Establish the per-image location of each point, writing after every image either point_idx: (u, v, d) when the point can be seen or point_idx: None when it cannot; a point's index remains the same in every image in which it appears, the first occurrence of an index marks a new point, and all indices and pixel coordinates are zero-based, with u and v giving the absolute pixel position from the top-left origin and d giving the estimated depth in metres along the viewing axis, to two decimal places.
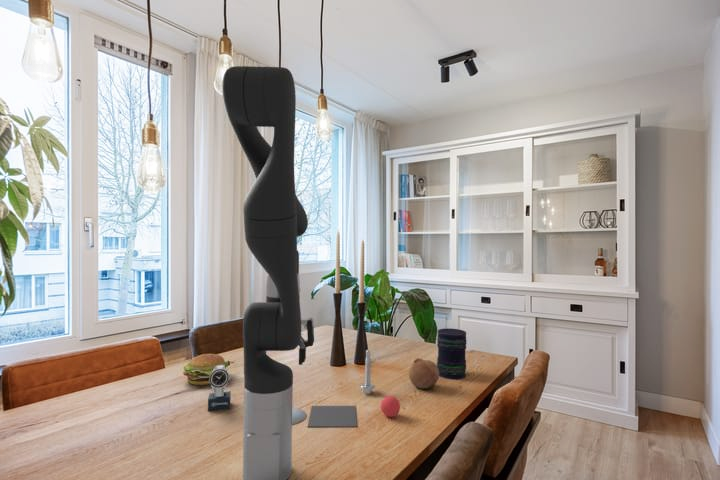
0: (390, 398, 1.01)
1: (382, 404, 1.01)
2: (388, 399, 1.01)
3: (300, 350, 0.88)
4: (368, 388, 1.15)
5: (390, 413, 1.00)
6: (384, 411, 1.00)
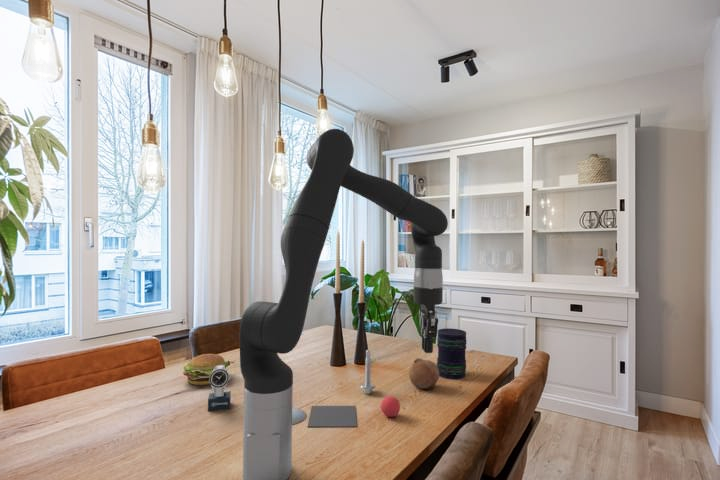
0: (390, 398, 1.01)
1: (382, 404, 1.01)
2: (388, 399, 1.01)
3: (424, 339, 1.01)
4: (368, 388, 1.15)
5: (390, 413, 1.00)
6: (384, 411, 1.00)
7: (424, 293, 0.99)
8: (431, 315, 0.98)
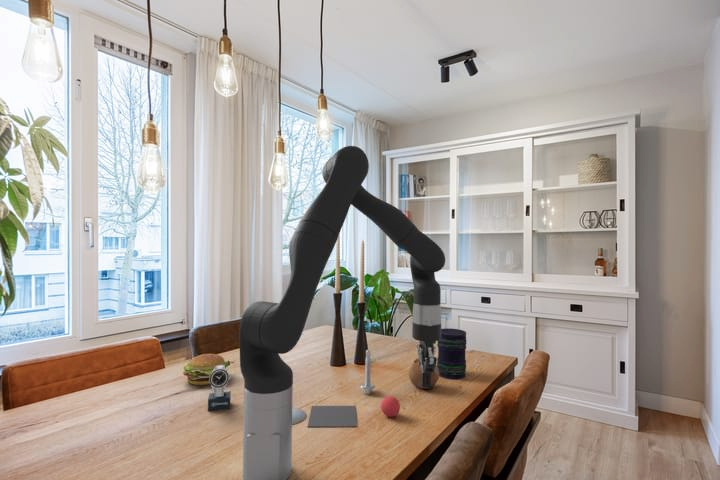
0: (390, 398, 1.01)
1: (382, 404, 1.01)
2: (388, 399, 1.01)
3: (422, 373, 1.02)
4: (368, 388, 1.15)
5: (390, 413, 1.00)
6: (384, 411, 1.00)
7: (423, 329, 0.99)
8: (430, 353, 0.98)
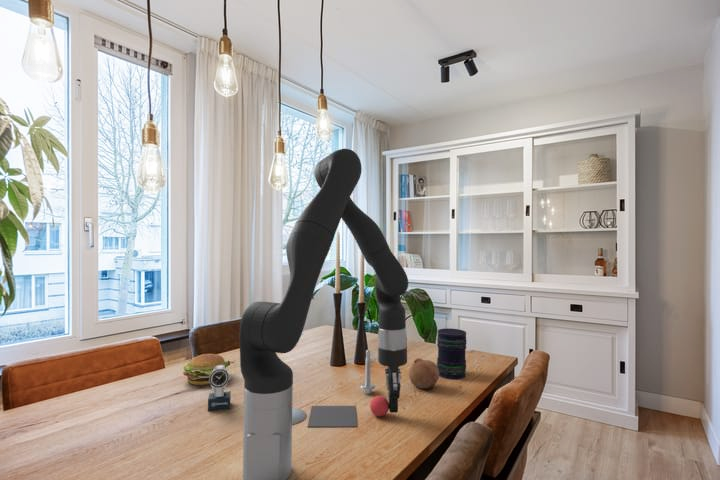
0: (373, 400, 1.02)
1: (371, 410, 1.01)
2: (372, 403, 1.01)
3: (389, 398, 1.01)
4: (368, 388, 1.15)
5: (382, 412, 1.00)
6: (376, 414, 1.00)
7: (387, 355, 0.98)
8: (394, 379, 0.97)
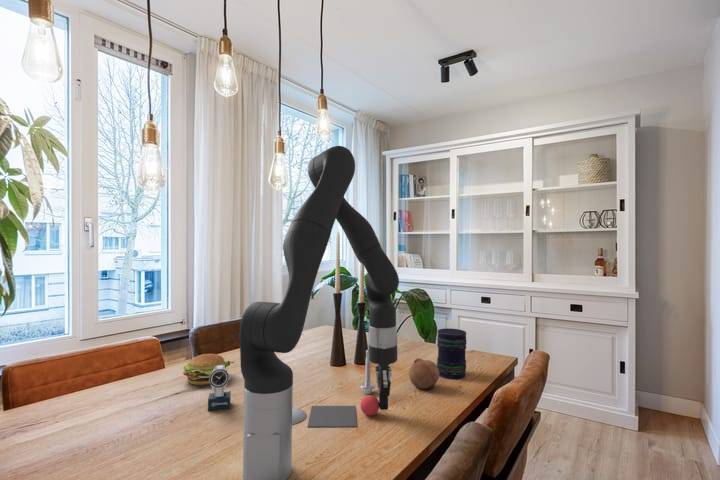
0: (361, 404, 1.02)
1: None
2: (361, 407, 1.01)
3: (379, 396, 1.02)
4: (368, 388, 1.15)
5: (373, 408, 1.00)
6: (371, 414, 1.01)
7: (377, 352, 0.99)
8: (384, 377, 0.97)
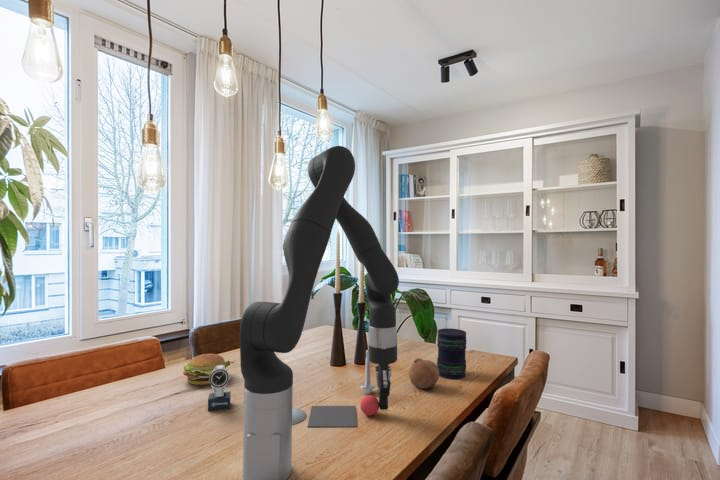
0: (360, 404, 1.02)
1: None
2: (361, 407, 1.01)
3: (379, 396, 1.02)
4: (368, 388, 1.15)
5: (373, 408, 1.00)
6: (371, 413, 1.01)
7: (377, 352, 0.99)
8: (384, 377, 0.97)
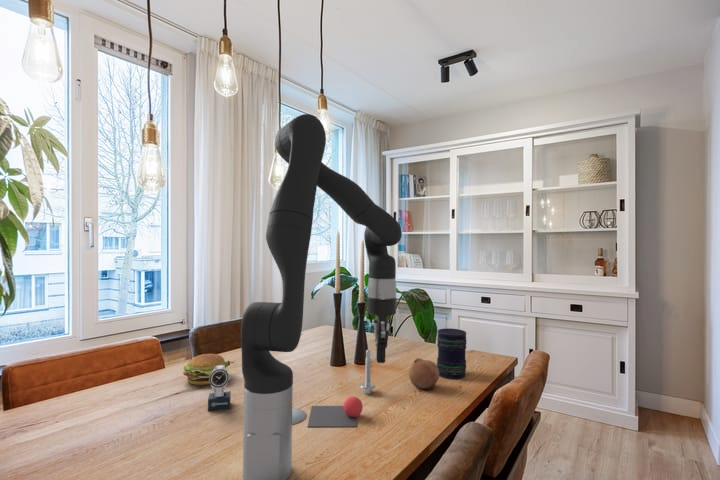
0: None
1: (361, 410, 1.01)
2: None
3: None
4: (368, 388, 1.15)
5: (354, 410, 0.99)
6: (360, 408, 1.00)
7: (376, 303, 0.98)
8: (382, 327, 0.97)
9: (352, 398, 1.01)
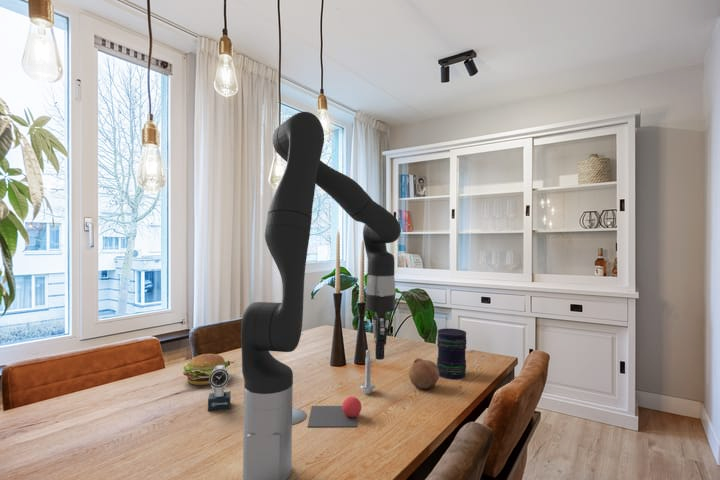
0: None
1: (360, 409, 1.01)
2: None
3: None
4: (368, 388, 1.15)
5: (353, 410, 0.99)
6: (358, 408, 1.00)
7: (375, 300, 0.99)
8: (381, 324, 0.97)
9: (350, 398, 1.01)
